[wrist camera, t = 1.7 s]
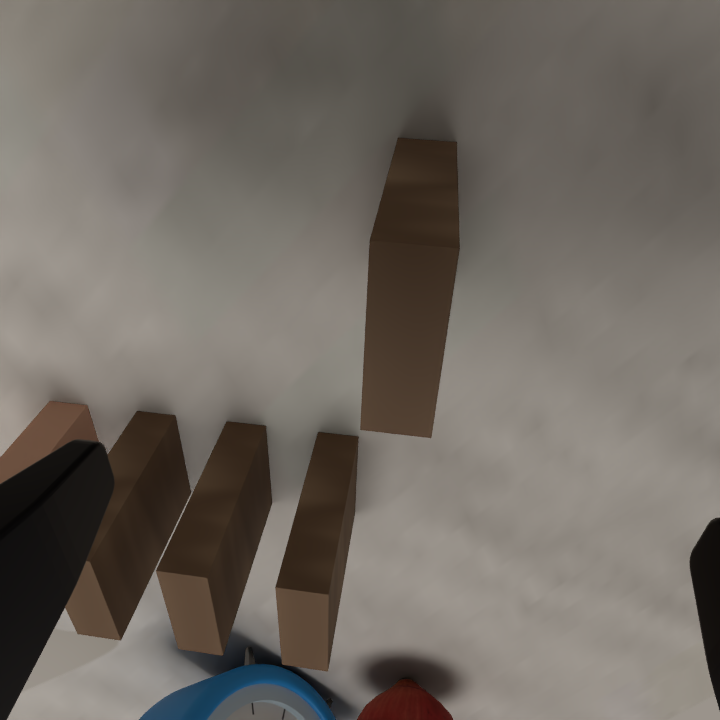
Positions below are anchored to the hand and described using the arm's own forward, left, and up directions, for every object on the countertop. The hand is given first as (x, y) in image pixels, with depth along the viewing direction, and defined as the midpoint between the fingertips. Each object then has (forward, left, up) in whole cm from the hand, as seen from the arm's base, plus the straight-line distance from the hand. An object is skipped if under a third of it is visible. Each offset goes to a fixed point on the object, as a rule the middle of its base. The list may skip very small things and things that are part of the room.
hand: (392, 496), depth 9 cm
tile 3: (+12, +4, -11) cm, 17 cm away
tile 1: (0, 0, -11) cm, 11 cm away
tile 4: (+15, +1, -11) cm, 18 cm away
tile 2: (+10, +6, -11) cm, 16 cm away
